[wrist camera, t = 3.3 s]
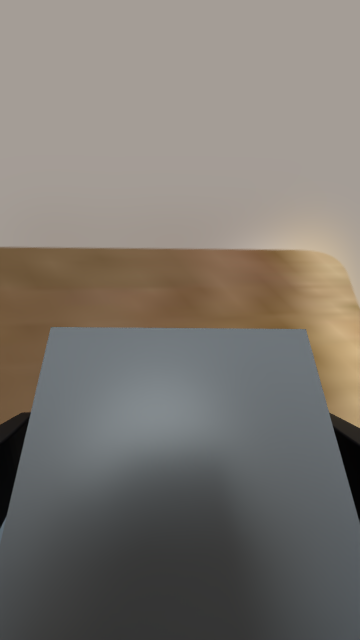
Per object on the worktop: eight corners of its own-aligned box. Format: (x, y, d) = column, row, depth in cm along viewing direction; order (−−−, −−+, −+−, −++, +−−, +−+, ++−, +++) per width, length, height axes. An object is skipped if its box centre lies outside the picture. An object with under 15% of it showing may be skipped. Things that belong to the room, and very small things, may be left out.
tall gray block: (236, 536, 12) (417, 731, 4) (102, 543, 12) (-56, 781, 3) (223, 401, 15) (305, 329, 7) (115, 402, 15) (51, 327, 6)
